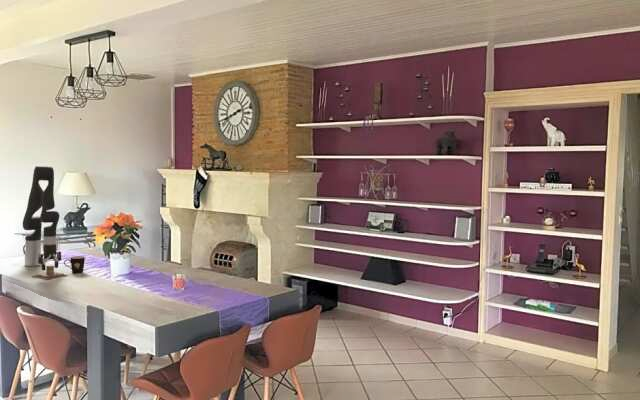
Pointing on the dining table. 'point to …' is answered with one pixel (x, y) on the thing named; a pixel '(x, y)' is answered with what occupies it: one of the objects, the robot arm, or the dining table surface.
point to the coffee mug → (76, 264)
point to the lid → (50, 272)
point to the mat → (49, 278)
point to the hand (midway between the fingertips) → (50, 269)
